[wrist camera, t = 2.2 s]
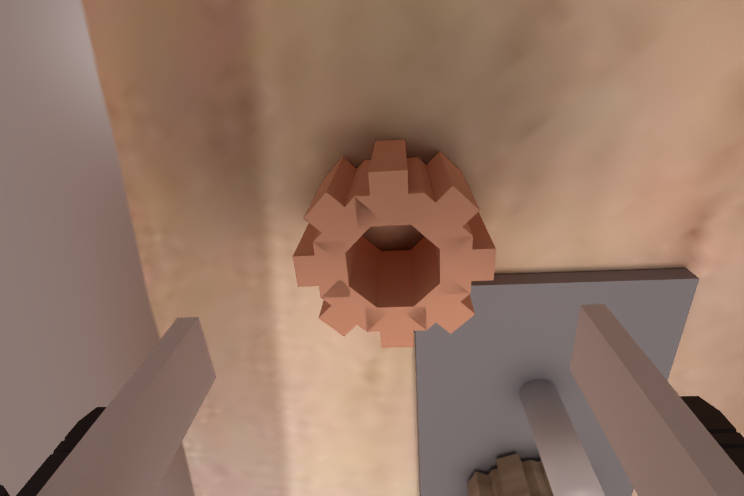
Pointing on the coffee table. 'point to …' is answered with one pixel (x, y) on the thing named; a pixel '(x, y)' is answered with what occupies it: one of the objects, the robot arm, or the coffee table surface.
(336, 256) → the loose gear
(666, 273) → the gear board
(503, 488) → the gear
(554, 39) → the coffee table surface
